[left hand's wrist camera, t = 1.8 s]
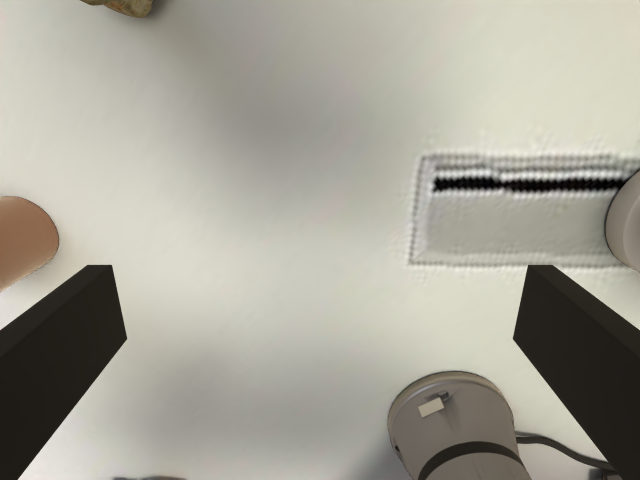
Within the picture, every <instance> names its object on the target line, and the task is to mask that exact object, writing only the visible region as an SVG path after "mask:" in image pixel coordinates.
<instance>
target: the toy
mask: <svg viewBox="0 0 640 480" xmlns="http://www.w3.org/2000/svg"><path fill="white" fill-rule="evenodd" d="M598 480H601V479H598ZM602 480H622V479H621V477H620V476H619V475H618V473H617V472H616V471H612V470H607V469H604V471H603V477H602Z"/></svg>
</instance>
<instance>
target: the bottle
mask: <svg viewBox="0 0 640 480" xmlns="http://www.w3.org/2000/svg"><path fill="white" fill-rule="evenodd" d="M58 242H59V240H58V233H57V230H56V227H55V225H54V223H53V222H52V220H51V218H50V217H49V216H48V215H47V214H46V213H45V212H44V211H43V210H42V209H41V208H40V207H38V206H37V205H35V204H34V203H32V202H30V201H28V200H25V199H23V198H19V197H13V196H5V197H0V292H2V291H3V290H5V289H7V288H8V287H10V286H11V285H13V284H15V283H16V282H18V281H19V280H21V279H22V278H24V277H26V276H27V275H29V274H30V273H32V272H34V271H35V270H37V269H38V268H40V267H41V266H43V265H45V264H46V263H48V262H49V261H50V260H51V259H52V258H53V257H54V255H55V254H56V252H57V249H58Z"/></svg>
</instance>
